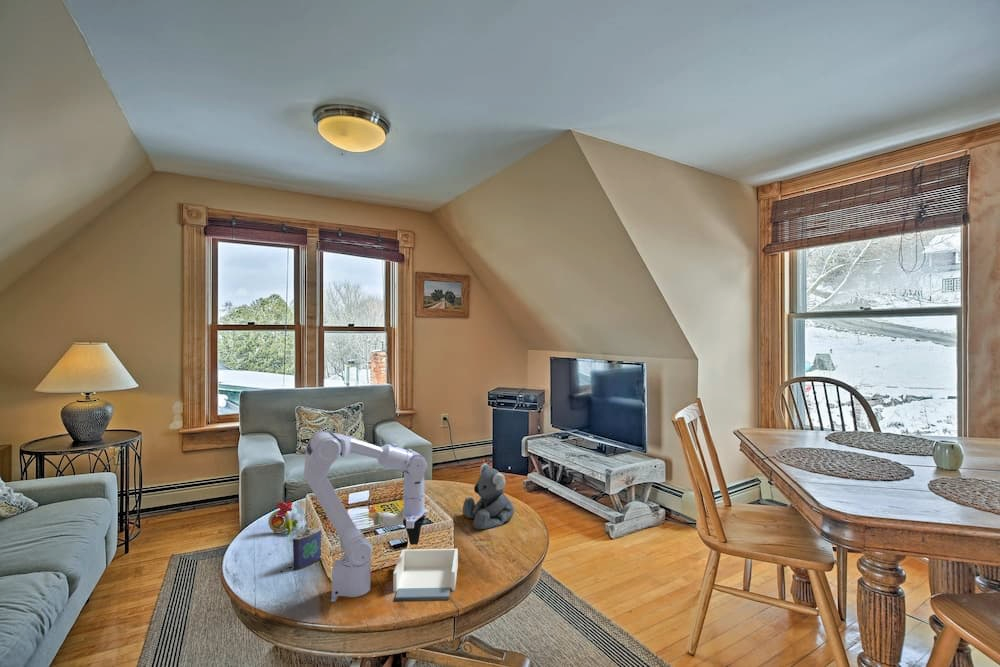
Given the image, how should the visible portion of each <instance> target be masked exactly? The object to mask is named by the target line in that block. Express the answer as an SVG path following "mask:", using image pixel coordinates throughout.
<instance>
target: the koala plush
mask: <svg viewBox="0 0 1000 667" xmlns="http://www.w3.org/2000/svg"><path fill="white" fill-rule="evenodd" d="M479 471H480V476H478V479H477V482H476V484H475V485H474V487H473V490H474V492H475V493H476V494H477V495H478V496H479V499H478V501H477V502H475V499H474V498H473V497H465V499H464V501H463V506H462V514H463V516H464V517H466V519H473V527H474V529H476V530H480V529H482V530H488V529H491V528H495V527H500V525H501V526H502V525H504V523H506V522H508V521H509V520H510V519H511V518H512V517H513V516H514V515H515V514H514V513H515V507H514V504H513V503H512V501H511V500H510V499H509V498H508V496H506V494H505V493H504V488H505V487H506V484H507V483H506V478H505V477H506V476H505V475H504V474H502V473H501V472H499V470H498V469H495V468H492V467H491V466H489V464H487V463H486V462H483V464H481V465H480V470H479Z"/></svg>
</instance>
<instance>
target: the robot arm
mask: <svg viewBox="0 0 1000 667" xmlns="http://www.w3.org/2000/svg"><path fill="white" fill-rule="evenodd" d="M351 453H352V454H355V455H360V456H364V457H369V458H372V459H375V460H376V459H377V461H378V464H379V465H380V466H382V467H383V466H384V467H387V468H391V469H394V470H398V471H403V508H404V511H403V516H404V518H405V519H404V520H403V525H404V526H405V528H406V529H405V531H406V534H407V538H408V540H409V541H408V542H409V545H413V546H417V545H418V544H419V541H420V536H421V531H422V530H421V529H422V525H423V523H424V520H425V518H426V515H428V514H429V509H426V508H425V504H424V502H425V472H426V471H427V469H428V466H429V465H428V463H427V460H426V458H425V457H424V455H421V453H418V452H417V451H414V450H413V449H411V448H407V449H405V448H402V447H399V446H398V444H396V443H393V442H391V443H390V444H389V443H386V444H384V445H382V446H378V445H375V444H372V443H369V442H366V441H364V440H360V439H358V438H355V437H353V436H349V435H345V434H342V433H341V434H340V433H336V432H335V433H334V432H332V433H330V432H328V431H325V430H321V431H317V432H314V434H312V435H311V437H310V438H309V441H308V442H307V443H306V447H305V459H304V460H305V461H304V470H303V476H304V479H305V481H306V483H307V484H308V486H309V487H310V489H311V491H312V493H313V494H314V497H315V498H316V499H317V501H318V503H319V504H320V506H321V507H322V509H323V511H324V513H325V514H326V516H327V518H328V520H329V521H330V523H331V525H332V526H333V528H334V530H335V531H336V533H337V535H338V537H339V542H340V548H341V549H342V551H343V555H342V558H340V559H336V560H335V561H334V563H333V566H332V570H331V599H330V602H332V603H335V602H336V601H337V600H338V598H339V597H347V598H357V597H361V596H363V595H366V594H367V593H369V591H371V587H372V586H371V585H372V584H371V557H372V556H373V552H374V551H373V550H374V549H373V545H372V543H371V542H370V541H369V540H368V539H367V538H366V536H365V535H364V533H363V531H362V530H361V529H359V528H357V527H356V525H355V522H354V521H353V520H352V518H351V516H350V514H349V513H348V511H347V508H346V507H345V506H344V504H343V502H342V501H341V499H340V497H339V495H338V493H337V492H336V490H335V488H334V486H333V485H332V483H331V482H330V480H329V478H328V473H329V471H330V469H331V466H332V465H333V464H334V463H335V462H336V461H337V459H338V458H339V456H341V457H345V456H347V455H349V454H351Z"/></svg>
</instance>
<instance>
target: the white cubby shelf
mask: <svg viewBox="0 0 1000 667" xmlns="http://www.w3.org/2000/svg"><path fill="white" fill-rule="evenodd" d="M458 566H459V549H458V548H422V549H421V548H416V549H415V548H414V549H411V548H410V549H402V550H401V553H400V555H399V557H398V560H397V563H396V566H395V567H394V569H393V570H394V571H393V573H392V574H393V577H392V578H393V579H392V580H393V582H392V583H393V584H392V588H393V589H392V592H395V593H397V591H398V588H447V587H450V589H451V591H453V592H454V591H456V584H457V577H458V576H457V574H458Z"/></svg>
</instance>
